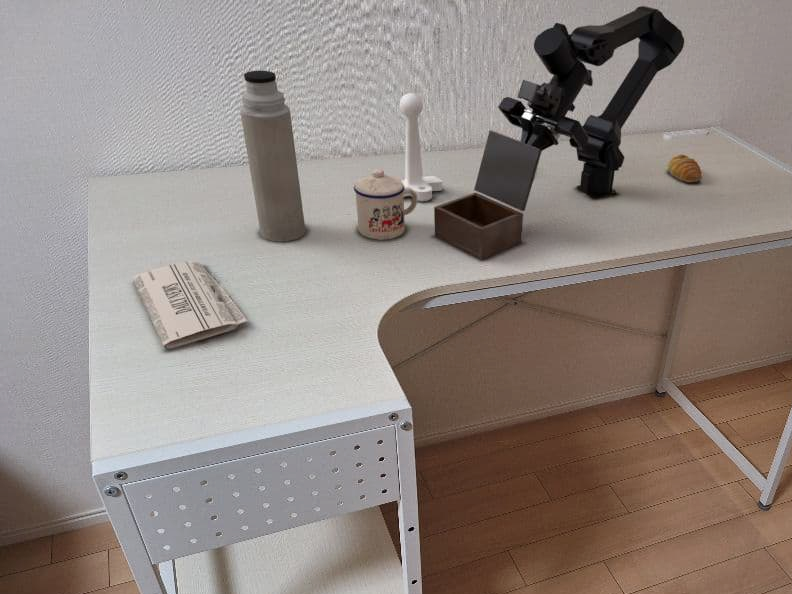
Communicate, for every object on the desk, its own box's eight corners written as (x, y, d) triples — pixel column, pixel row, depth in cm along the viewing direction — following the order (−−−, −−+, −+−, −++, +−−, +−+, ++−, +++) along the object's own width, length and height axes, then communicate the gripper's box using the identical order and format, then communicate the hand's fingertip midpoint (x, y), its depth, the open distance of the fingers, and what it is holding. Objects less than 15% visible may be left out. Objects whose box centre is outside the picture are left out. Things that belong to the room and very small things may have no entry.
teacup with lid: (369, 244, 140) (364, 183, 133) (349, 225, 146) (344, 165, 139) (428, 232, 146) (426, 173, 139) (407, 214, 152) (405, 156, 145)
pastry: (707, 183, 175) (711, 167, 173) (681, 185, 173) (684, 169, 171) (689, 168, 182) (692, 152, 180) (663, 170, 180) (666, 154, 178)
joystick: (432, 184, 164) (430, 87, 152) (450, 196, 160) (449, 97, 148) (385, 193, 159) (379, 93, 147) (402, 207, 154) (398, 105, 142)
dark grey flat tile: (539, 149, 137) (542, 149, 137) (489, 130, 143) (492, 130, 143) (521, 210, 141) (524, 211, 141) (473, 189, 147) (476, 190, 148)
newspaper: (251, 329, 116) (247, 316, 114) (168, 357, 111) (162, 343, 109) (211, 264, 130) (206, 251, 129) (135, 286, 125) (130, 273, 124)
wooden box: (481, 260, 138) (482, 229, 135) (434, 236, 145) (434, 206, 141) (521, 243, 145) (523, 213, 141) (474, 221, 151) (475, 192, 148)
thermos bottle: (277, 219, 146) (253, 63, 129) (313, 228, 144) (294, 71, 127) (251, 236, 140) (223, 75, 123) (289, 245, 138) (266, 83, 121)
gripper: (506, 51, 141) (463, 123, 141) (585, 74, 132) (538, 152, 132) (532, 88, 151) (491, 156, 151) (607, 113, 142) (563, 185, 142)
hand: (519, 161), depth 144 cm, fingers closed
